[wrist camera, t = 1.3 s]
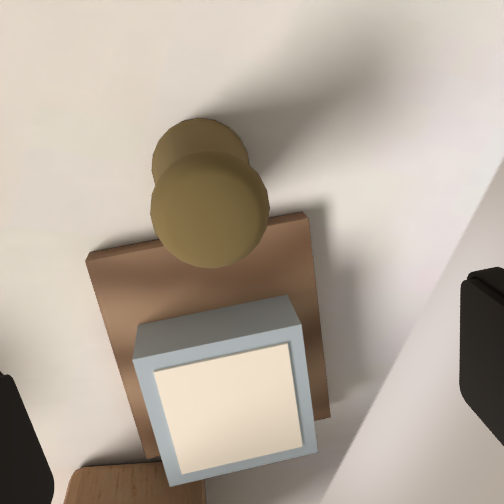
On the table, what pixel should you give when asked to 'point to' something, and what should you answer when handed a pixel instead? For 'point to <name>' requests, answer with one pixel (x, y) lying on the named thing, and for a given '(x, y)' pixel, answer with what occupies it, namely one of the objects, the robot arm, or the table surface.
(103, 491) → the block
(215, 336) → the slate plinth
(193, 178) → the olive pawn
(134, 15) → the table surface
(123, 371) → the brown board
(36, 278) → the table surface
